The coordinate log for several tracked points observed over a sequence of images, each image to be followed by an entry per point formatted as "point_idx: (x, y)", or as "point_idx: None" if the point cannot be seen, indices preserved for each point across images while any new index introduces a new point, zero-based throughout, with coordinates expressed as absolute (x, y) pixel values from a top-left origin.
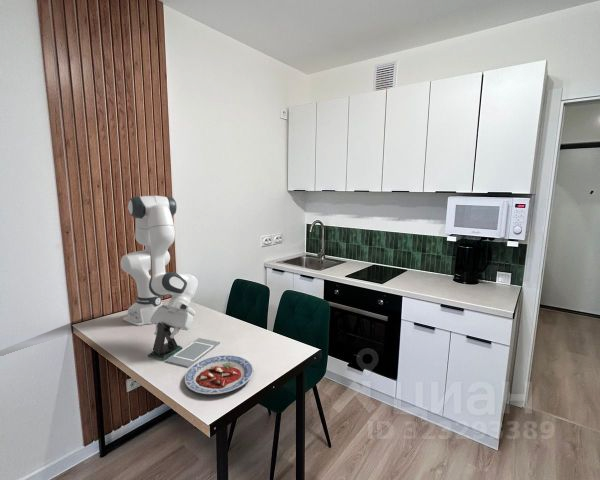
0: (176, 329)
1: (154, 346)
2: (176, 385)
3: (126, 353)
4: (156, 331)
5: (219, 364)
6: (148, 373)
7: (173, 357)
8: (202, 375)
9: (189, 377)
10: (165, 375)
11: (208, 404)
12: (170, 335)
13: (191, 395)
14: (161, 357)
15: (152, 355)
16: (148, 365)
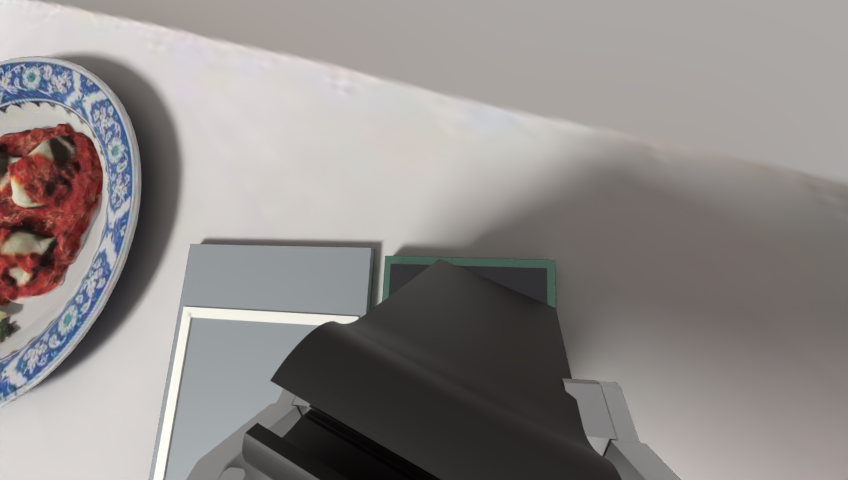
0: (193, 476)
1: (536, 311)
2: (178, 92)
3: (794, 245)
4: (604, 417)
5: (32, 327)
6: (385, 110)
7: (342, 303)
8: (37, 155)
9: (107, 129)
10: (278, 134)
11: (7, 56)
12: None
13: (85, 68)
14: (417, 262)
15: (509, 264)
16: (454, 174)
